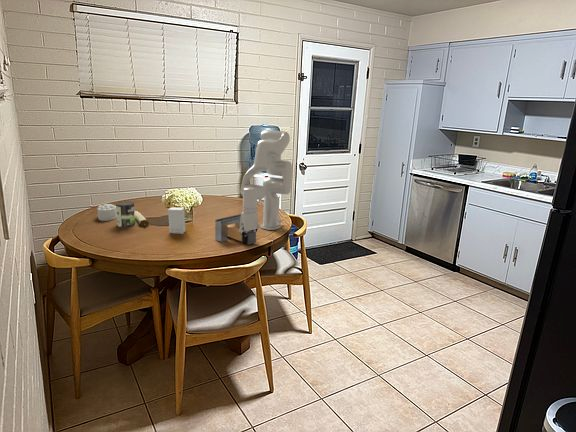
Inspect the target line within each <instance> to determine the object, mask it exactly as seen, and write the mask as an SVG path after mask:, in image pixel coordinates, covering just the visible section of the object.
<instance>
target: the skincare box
mask: <svg viewBox="0 0 576 432" xmlns="http://www.w3.org/2000/svg"><path fill="white" fill-rule="evenodd" d="M185 213H186V212H185V207H173V206H172V207H170V208H168V209H167V216H168V229H169V234H181V235H184V234H185V232H186V218H185V217H186V215H185Z"/></svg>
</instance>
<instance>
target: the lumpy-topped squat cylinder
mask: <svg viewBox="0 0 576 432" xmlns="http://www.w3.org/2000/svg"><path fill="white" fill-rule="evenodd" d="M96 209H97V210H96V211H97V219H98V220H99V221H100V222H105V221H106V222H109V221H112V220H115V219H117V213H116V204H115V205H114V204H112V203H104V204H101V205H98V206H97V208H96Z"/></svg>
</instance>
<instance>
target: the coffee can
mask: <svg viewBox="0 0 576 432" xmlns="http://www.w3.org/2000/svg"><path fill="white" fill-rule="evenodd" d="M115 206H116V213H117V217H116V225H117V226H116V227H119V228H128V227H133V226H135V225H136V219H135V212H134V211H135V203H134V201H127V200H125V201H117V202H116V203H115Z"/></svg>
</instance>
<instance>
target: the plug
mask: <svg viewBox="0 0 576 432" xmlns="http://www.w3.org/2000/svg"><path fill="white" fill-rule="evenodd" d="M239 229H240V228H239V227H236V226H235V225H234V224H230V225H228V235H227V238H228V237H229V238H231V239H234V240H236V241H238V242H239V241H240V242H241V243H243V236H242V235H241V234H240V233H239V232H238V231H239ZM242 231H243V230H242ZM244 233H245V232H244ZM256 242H257V232H254V231H248V232H247V244H246V245H252V244H256Z"/></svg>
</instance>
